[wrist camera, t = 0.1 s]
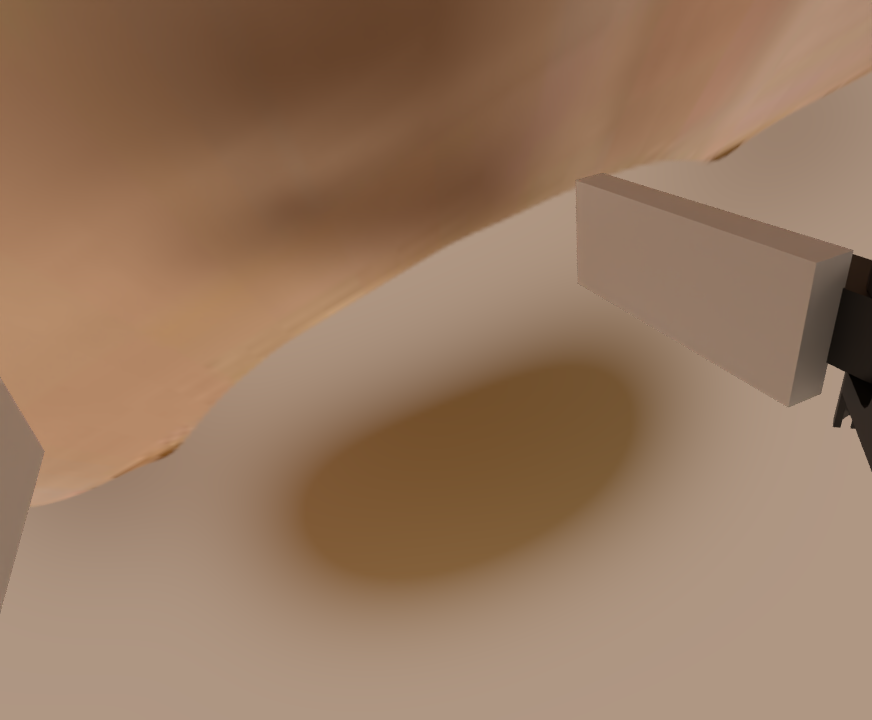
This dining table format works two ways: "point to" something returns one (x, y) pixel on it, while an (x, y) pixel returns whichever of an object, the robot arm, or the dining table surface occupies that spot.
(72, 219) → the dining table surface
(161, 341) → the dining table surface
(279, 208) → the dining table surface
